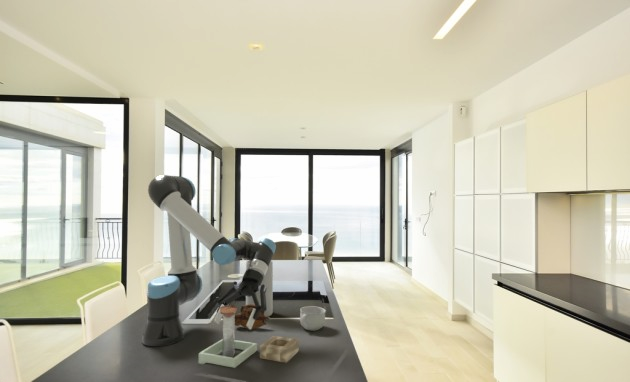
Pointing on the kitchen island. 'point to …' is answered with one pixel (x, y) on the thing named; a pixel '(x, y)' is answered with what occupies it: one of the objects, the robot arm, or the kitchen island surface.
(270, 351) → the block
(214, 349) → the tray
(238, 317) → the wooden carving
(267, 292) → the cylinder vase
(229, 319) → the pin
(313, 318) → the teacup
